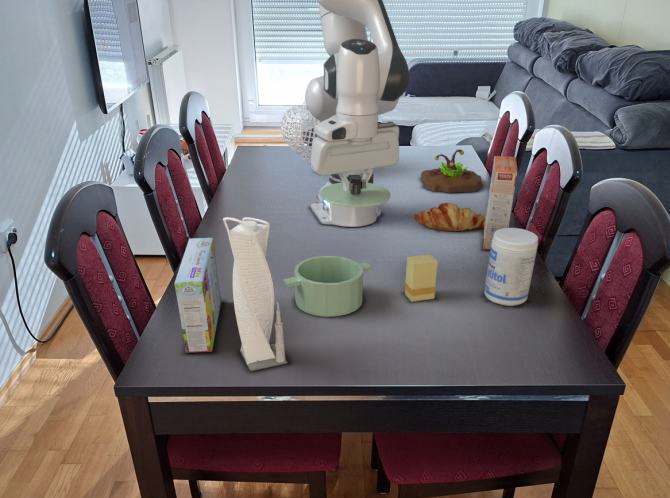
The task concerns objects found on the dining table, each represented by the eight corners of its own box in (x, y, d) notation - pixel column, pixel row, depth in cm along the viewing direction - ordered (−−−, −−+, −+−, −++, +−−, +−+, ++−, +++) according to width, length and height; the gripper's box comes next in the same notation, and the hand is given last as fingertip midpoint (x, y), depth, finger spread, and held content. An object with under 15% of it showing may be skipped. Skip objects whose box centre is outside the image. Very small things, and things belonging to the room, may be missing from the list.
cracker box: (506, 252, 166) (518, 171, 155) (482, 250, 167) (492, 169, 156) (505, 232, 178) (517, 156, 167) (483, 230, 179) (493, 154, 168)
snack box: (196, 302, 141) (187, 237, 133) (222, 301, 141) (215, 236, 134) (183, 354, 123) (172, 282, 115) (213, 353, 123) (205, 281, 116)
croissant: (486, 235, 185) (488, 207, 184) (492, 231, 175) (494, 201, 174) (411, 231, 186) (413, 203, 185) (413, 227, 176) (415, 197, 175)
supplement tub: (475, 296, 145) (483, 234, 137) (500, 284, 150) (509, 223, 143) (511, 311, 139) (522, 247, 131) (536, 298, 144) (547, 236, 137)
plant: (486, 193, 206) (490, 158, 200) (424, 193, 206) (427, 157, 201) (476, 175, 223) (479, 142, 218) (419, 174, 224) (421, 141, 218)
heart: (280, 179, 217) (277, 110, 206) (285, 166, 231) (282, 100, 219) (364, 180, 217) (365, 111, 206) (363, 167, 231) (365, 101, 219)
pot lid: (309, 191, 148) (308, 171, 145) (369, 182, 154) (369, 163, 152) (339, 214, 136) (340, 193, 134) (403, 203, 142) (404, 183, 140)
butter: (404, 293, 145) (406, 256, 141) (427, 290, 147) (430, 253, 142) (411, 301, 142) (413, 264, 137) (434, 298, 144) (438, 261, 139)
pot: (274, 296, 144) (272, 265, 140) (353, 279, 152) (354, 249, 148) (300, 325, 133) (299, 292, 129) (385, 305, 141) (386, 273, 137)
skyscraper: (242, 372, 118) (230, 226, 103) (231, 351, 124) (217, 210, 109) (287, 363, 121) (280, 219, 106) (273, 342, 127) (265, 204, 112)
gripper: (391, 117, 143) (388, 178, 151) (307, 126, 135) (308, 191, 142) (406, 123, 138) (402, 187, 146) (320, 133, 130) (320, 200, 138)
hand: (355, 189), depth 144 cm, fingers closed on pot lid, 2 cm apart
